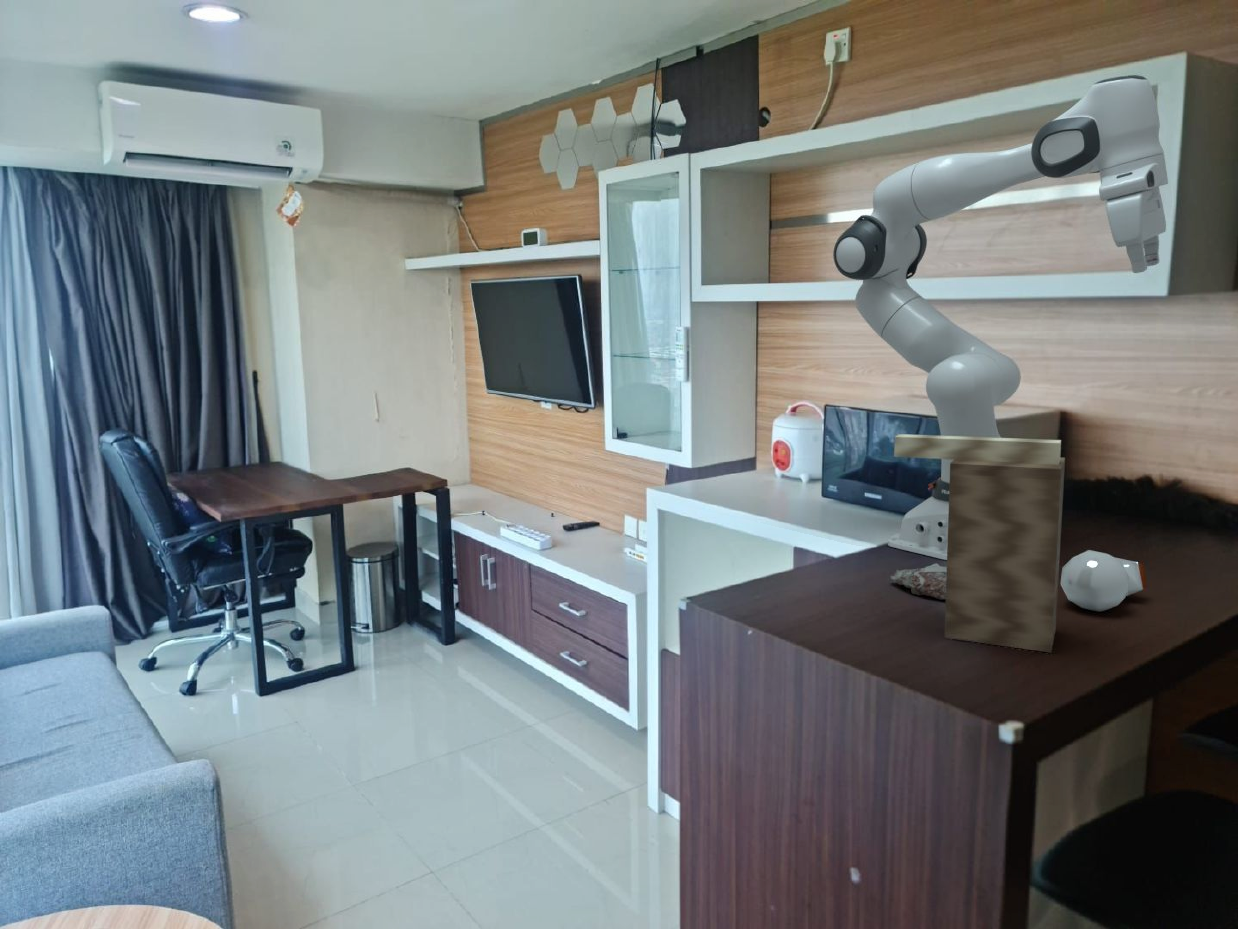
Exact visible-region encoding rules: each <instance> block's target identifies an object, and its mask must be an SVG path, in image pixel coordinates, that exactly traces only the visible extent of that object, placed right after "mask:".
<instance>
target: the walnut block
mask: <svg viewBox="0 0 1238 929" xmlns="http://www.w3.org/2000/svg"><path fill="white" fill-rule="evenodd" d="M1065 463H1066V457H1061V456H1060V463H1059V465H1053V464H1033V463H1013V462H992V461H972V460H953V461H952V462H951V463H950V485H949V515H948V546H947V560H946V567H947V576H946V600H945V612H944V616H945V617H944V637H945V636H948V637H952V638H962V639H968V640H974V641H979V642H984V643H990V644H999V645H1005V646H1011V647H1015V648H1017V647H1018V648H1023V649H1028V650H1029V649H1030V650H1038V651H1039V650H1040V651H1045V652H1050V653H1051V654H1052V652H1051V651H1053V647H1052V646H1054V640H1055V636H1054V635H1056V630H1057V629H1056V627H1057V608H1058V595H1059V594H1058V593H1059V592H1058V591H1059V576H1060V575H1059V574H1060V559H1061V558H1060V554H1061V541H1062V540H1061V539H1062V538H1061V537H1062V536H1061V535H1062V520H1063V519H1062V518H1063V503H1064V502H1063V501H1064V483H1065V466H1066V464H1065Z"/></svg>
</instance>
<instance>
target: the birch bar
mask: <svg viewBox="0 0 1238 929" xmlns="http://www.w3.org/2000/svg"><path fill="white" fill-rule="evenodd" d="M893 445H894V448H893V449H894V450H893V451H894V452H893V457H895V458H912V459H913V458H916V459H933V460H934V459H935V460H942V459H952V460H972V461H992V462H1013V463H1033V464H1053V465H1059V463H1060V457H1061V452H1062V451H1061V450H1062V447H1061V446H1062V440H1061V439H1042V438H1041V439H1039V438H1037V439H1036V438H1014V437H1013V438H1011V437H1001V438H990V437H963V436H941V435H935V434H934V435H933V434H931V435H929V434H908V433H907V434H906V433H904V434H901V433H898V434H897V435H895V436H894V444H893Z"/></svg>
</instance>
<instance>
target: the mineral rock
mask: <svg viewBox="0 0 1238 929" xmlns="http://www.w3.org/2000/svg"><path fill="white" fill-rule="evenodd" d="M946 576H947V566H945V565H944V566H942V565H940V564H939V563H933V564H932V565H927V566H925V567H922V568H920V567H919V568H915V569H914V568H910V569H909V568H908V569H903V570H900V569H897V570H895V571H893V574H891V575H890V579H891V580H892V581H894V583H897V584H898V585H900V586H902V585H903V586H904V587H905V588H908V589H911V590H910V591H911V594H913V595H915V594H916V596H927V597H932V598H935V599H938V600H941V601H942V600H945V601H946Z"/></svg>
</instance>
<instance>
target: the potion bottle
mask: <svg viewBox="0 0 1238 929" xmlns="http://www.w3.org/2000/svg"><path fill="white" fill-rule="evenodd" d="M1061 569H1062V570H1061V578H1060V586H1061V588H1062V590H1063V592H1064V593H1065V596H1066V598H1067V600H1068V601H1070V602H1072V603H1073V604H1075V605H1077V606H1079V607H1080V608H1081V609H1085V610H1091V611H1095V612H1099V613H1102V612H1104V611H1106V610H1110V609H1112V608H1114V607H1117V606H1119V605H1120V604H1121V603H1122V602H1123V600H1124V599H1126V596H1127V597H1129V596H1132V595H1134V594H1136V593H1138V592H1141V591H1143V590H1147V589H1148V588H1149V587H1148V583H1147V578H1146V571H1145V567H1144V563H1142V562H1138V561H1133V560H1127V559H1124V558H1119V557H1114V556H1113V555H1111V554H1110V553H1109V554H1108V553H1106V552H1100V551H1095V550H1092V549H1087V550H1086V551H1084V552H1081V553H1079V554H1078V555H1075V556H1073V557H1071V559H1069V561H1067V563H1066V564H1065V565H1063V566H1062V568H1061Z"/></svg>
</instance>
